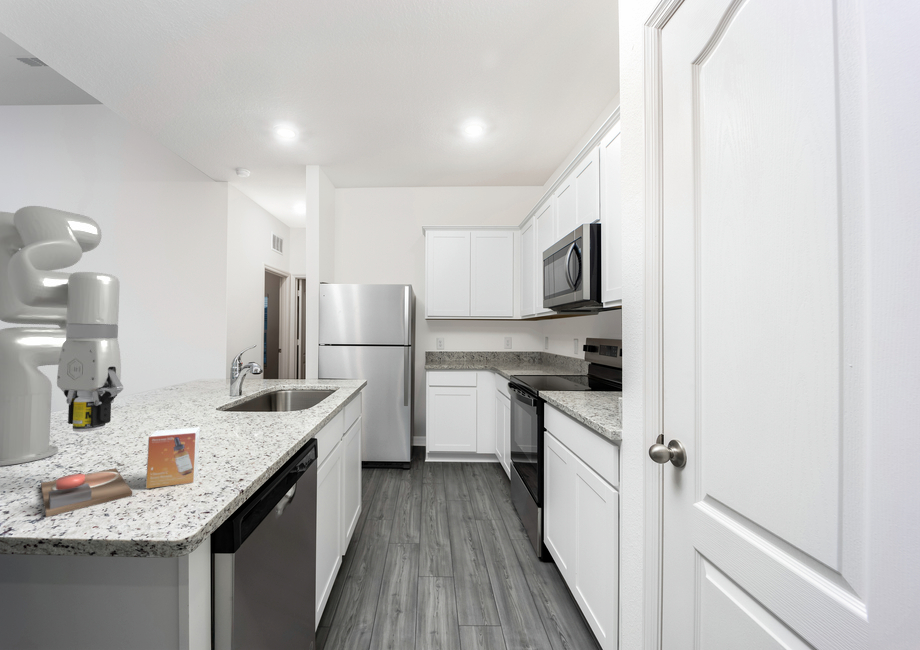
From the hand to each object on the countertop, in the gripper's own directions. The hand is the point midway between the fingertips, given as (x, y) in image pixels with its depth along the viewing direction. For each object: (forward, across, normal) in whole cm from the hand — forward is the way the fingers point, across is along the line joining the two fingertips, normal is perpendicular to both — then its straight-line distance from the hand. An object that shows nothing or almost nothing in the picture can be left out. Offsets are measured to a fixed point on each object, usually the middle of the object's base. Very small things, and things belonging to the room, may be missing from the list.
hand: (89, 422), depth 75 cm
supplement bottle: (+2, 0, 0) cm, 2 cm away
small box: (+13, +14, +5) cm, 20 cm away
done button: (+9, +6, -7) cm, 13 cm away
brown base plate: (+13, +3, -2) cm, 13 cm away
